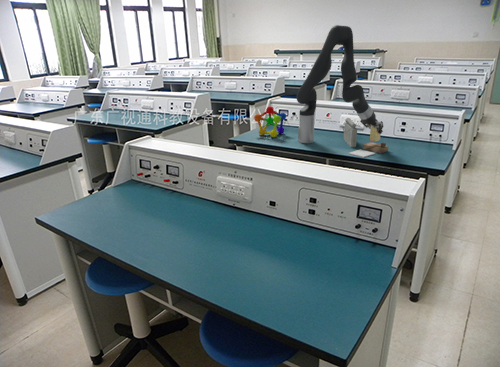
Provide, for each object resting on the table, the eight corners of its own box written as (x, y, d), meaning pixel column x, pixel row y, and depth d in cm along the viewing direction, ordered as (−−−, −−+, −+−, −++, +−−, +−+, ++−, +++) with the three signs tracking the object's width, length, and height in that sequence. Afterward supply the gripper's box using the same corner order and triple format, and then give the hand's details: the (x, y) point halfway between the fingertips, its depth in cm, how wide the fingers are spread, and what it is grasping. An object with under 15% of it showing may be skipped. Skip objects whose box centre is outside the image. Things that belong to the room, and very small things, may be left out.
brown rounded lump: (362, 149, 209) (363, 140, 207) (370, 147, 212) (370, 138, 210) (380, 153, 199) (381, 145, 197) (388, 151, 203) (389, 142, 201)
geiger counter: (359, 124, 208) (349, 115, 231) (348, 124, 208) (339, 115, 231) (357, 147, 213) (348, 136, 236) (347, 147, 213) (338, 137, 236)
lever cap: (369, 140, 205) (370, 126, 202) (374, 138, 207) (375, 125, 204) (375, 141, 202) (376, 127, 199) (379, 140, 204) (381, 126, 201)
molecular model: (251, 134, 250) (253, 105, 243) (264, 131, 261) (265, 103, 255) (277, 139, 238) (279, 108, 232) (289, 136, 250) (291, 107, 243)
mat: (348, 153, 202) (348, 152, 201) (360, 150, 207) (360, 149, 207) (363, 157, 194) (363, 156, 194) (375, 154, 199) (375, 153, 199)
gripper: (380, 109, 188) (392, 128, 199) (358, 106, 199) (370, 124, 209) (373, 121, 187) (385, 139, 198) (351, 117, 198) (363, 134, 209)
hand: (377, 131), depth 204 cm, fingers closed on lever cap, 4 cm apart
